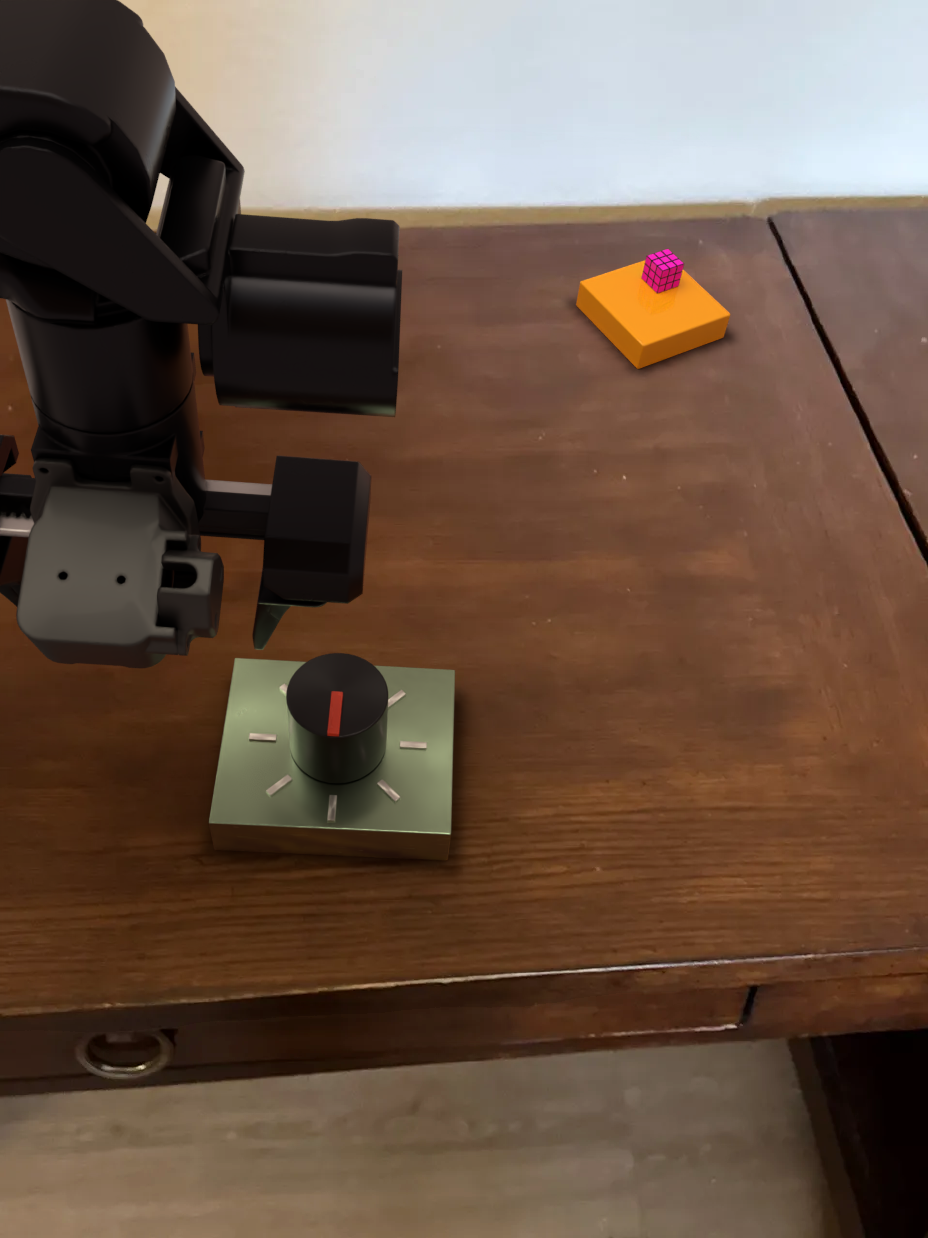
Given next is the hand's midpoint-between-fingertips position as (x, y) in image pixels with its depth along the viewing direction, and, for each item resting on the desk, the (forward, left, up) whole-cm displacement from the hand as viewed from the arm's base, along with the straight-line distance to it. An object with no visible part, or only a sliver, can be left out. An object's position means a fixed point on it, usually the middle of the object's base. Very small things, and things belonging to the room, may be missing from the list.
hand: (159, 635), depth 56 cm
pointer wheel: (+8, 0, -9) cm, 12 cm away
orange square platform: (+28, +40, -12) cm, 50 cm away
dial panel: (+8, 0, -12) cm, 14 cm away
